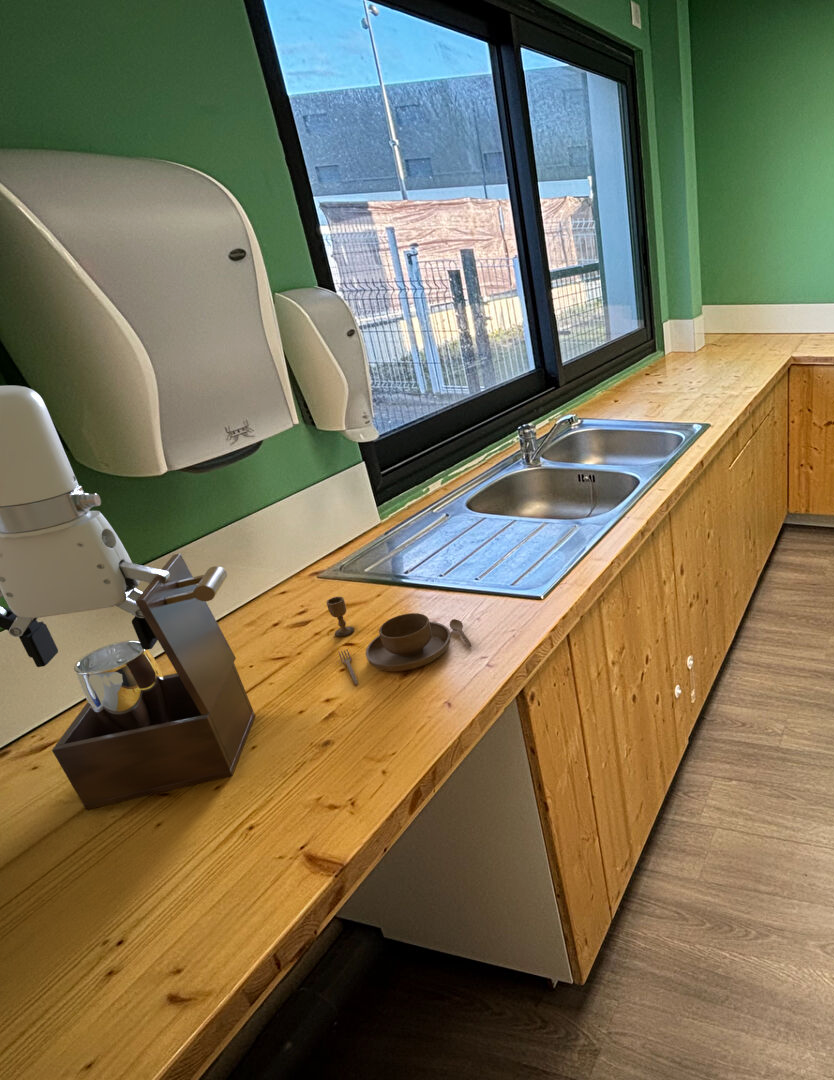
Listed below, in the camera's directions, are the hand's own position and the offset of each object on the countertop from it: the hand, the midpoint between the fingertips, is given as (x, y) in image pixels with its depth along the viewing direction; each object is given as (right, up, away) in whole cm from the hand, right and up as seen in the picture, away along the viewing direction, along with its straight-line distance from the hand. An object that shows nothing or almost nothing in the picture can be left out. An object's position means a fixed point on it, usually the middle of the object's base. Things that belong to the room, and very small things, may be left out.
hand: (101, 651), depth 78 cm
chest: (+2, -15, +8) cm, 17 cm away
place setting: (+20, -3, +30) cm, 37 cm away
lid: (+8, +2, +2) cm, 8 cm away
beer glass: (+1, -14, +7) cm, 16 cm away
